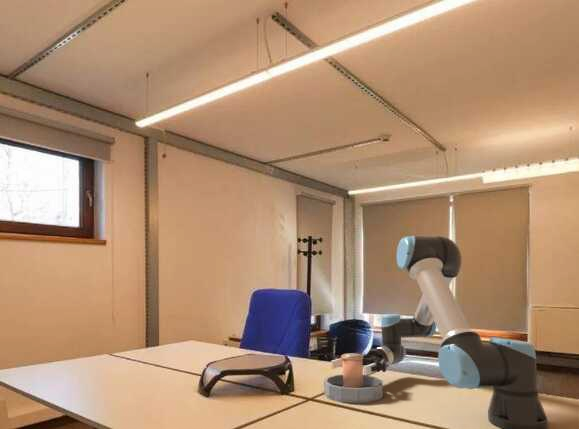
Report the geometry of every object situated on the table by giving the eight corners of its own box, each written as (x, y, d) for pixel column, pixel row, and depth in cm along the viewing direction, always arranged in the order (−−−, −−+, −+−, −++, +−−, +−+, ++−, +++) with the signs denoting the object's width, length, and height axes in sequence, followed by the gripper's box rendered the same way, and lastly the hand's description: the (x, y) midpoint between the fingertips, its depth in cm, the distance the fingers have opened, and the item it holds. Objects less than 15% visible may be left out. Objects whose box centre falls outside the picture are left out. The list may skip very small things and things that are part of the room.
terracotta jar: (363, 394, 145) (362, 357, 147) (341, 393, 147) (340, 356, 148) (365, 388, 152) (363, 353, 154) (343, 387, 154) (342, 352, 156)
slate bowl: (381, 405, 137) (381, 390, 138) (320, 401, 142) (320, 386, 143) (383, 388, 156) (383, 375, 157) (329, 385, 161) (329, 372, 162)
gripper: (410, 373, 155) (380, 385, 140) (352, 363, 172) (319, 373, 156) (409, 351, 156) (379, 361, 140) (351, 344, 173) (319, 352, 157)
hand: (348, 367), depth 148 cm, fingers open, 13 cm apart
